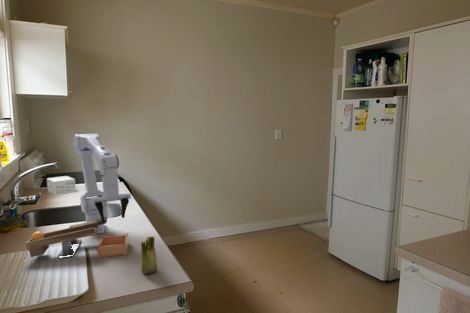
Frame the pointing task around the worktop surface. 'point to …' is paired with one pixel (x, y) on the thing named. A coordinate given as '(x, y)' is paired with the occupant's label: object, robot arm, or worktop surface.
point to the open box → (113, 246)
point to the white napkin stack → (61, 185)
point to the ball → (37, 235)
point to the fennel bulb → (148, 256)
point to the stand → (69, 247)
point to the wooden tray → (63, 236)
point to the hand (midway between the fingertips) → (113, 219)
